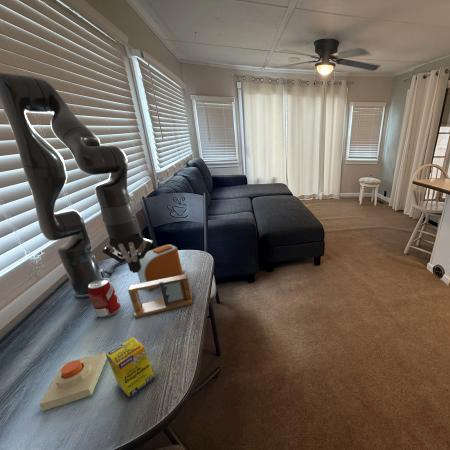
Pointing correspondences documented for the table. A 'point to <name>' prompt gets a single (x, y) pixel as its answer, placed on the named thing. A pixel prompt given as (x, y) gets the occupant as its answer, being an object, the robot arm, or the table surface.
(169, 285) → the window pane
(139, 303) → the window frame
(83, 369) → the control plate
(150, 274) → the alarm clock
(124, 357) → the supplement box
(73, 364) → the button
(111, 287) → the soda can
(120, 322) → the table surface
